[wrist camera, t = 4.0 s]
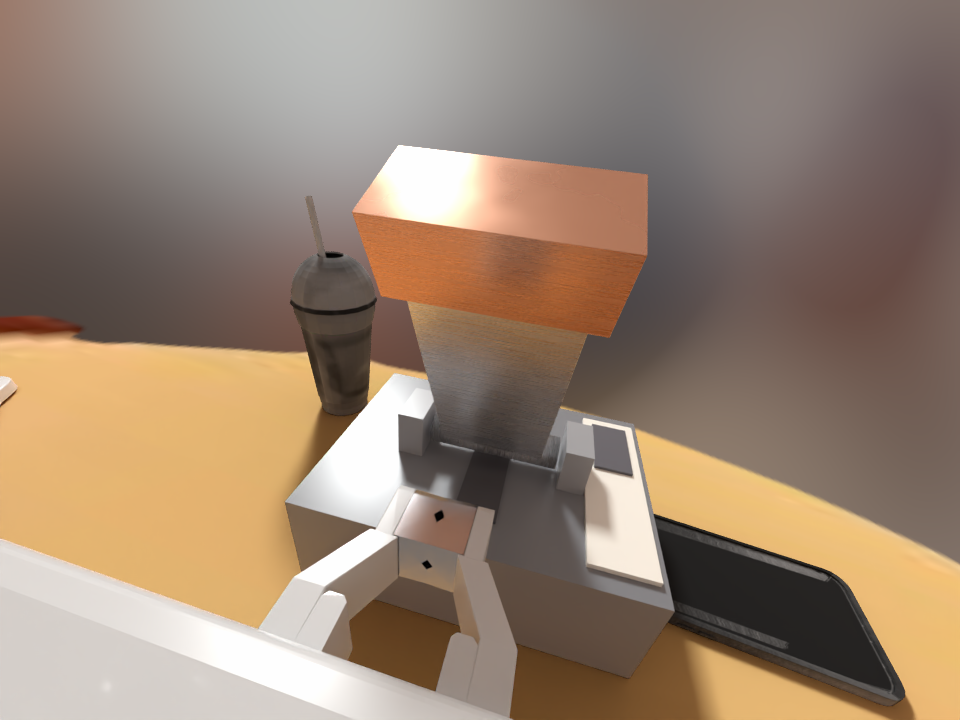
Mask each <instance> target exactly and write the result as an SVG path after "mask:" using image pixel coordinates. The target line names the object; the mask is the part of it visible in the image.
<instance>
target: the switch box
mask: <svg viewBox="0 0 960 720" xmlns="http://www.w3.org/2000/svg"><path fill="white" fill-rule="evenodd" d="M435 413H436V407H435V403H434V399H433V396H432V392H431V388H430V384H429V381H428V380H424V379H420V378H415V377H410V376H406V375H401V374H396V373H394V374H393V375H392V377H391V378H390V379H389V380H388V381H387V383H386V384H385V385H384V386H383V387H382V388H381V390H380V391H379V392H378V393H377V394H376V395H375V397H374V398H373V399H372V400H371V401H370V402H369V404H368V405H367V406H366V407H365V408H364V409H363V411H362V412H361V413H360V414H359V415H358V417H357V418H356V419H355V420H354V421H353V422H352V424H351V425H350V426H349V427H348V428H347V429H346V431H345V432H344V433H343V434H342V435H341V436H340V438H339V439H338V440H337V441H336V442H335V443H334V445H333V446H332V447H331V448H330V449H329V451H328V452H327V453H326V454H325V455H324V456H323V458H322V459H321V460H320V461H319V462H318V463H317V465H316V466H315V467H314V468H313V469H312V470H311V472H310V473H309V474H308V475H307V476H306V477H305V479H304V480H303V481H302V482H301V483H300V485H299V486H298V487H297V488H296V489H295V490H294V492H293V493H292V494H291V495H290V496H289V497H288V499H287V500H286V501H285V505H286V509H287V513H288V518H289V522H290V526H291V530H292V534H293V539H294V543H295V547H296V551H297V555H298V560H299V564H300V568H301V572H303V571H304V570H306V569H307V568H309V567H310V566H312V565H314V564H315V563H317V562H318V561H320V560H322V559H323V558H325V557H326V556H328V555H329V554H331V553H333V552H334V551H336V550H337V549H339V548H341V547H342V546H344V545H345V544H347V543H348V542H350V541H352V540H353V539H355V538H356V537H358V536H360V535H361V534H363V533H364V532H366V531H367V530H369V529H374V530H375V529H376V527H377V525H378V523H379V522H380V520H381V518H382V516H383V514H384V513H385V511H386V509H387V507H388V505H389V504H390V502H391V500H392V498H393V496H394V494H395V493H396V491H397V489H398V488H399V487H400V486H401V485H403V486H407V487H410V488H414V489H417V490H421V491H424V492H427V493H431V494H434V495H437V496H441V497H444V498H450V499H454V500H458V501H462V502H466V503H470V504H474V505H478V507H479V506H480V507H484V508H488V509H491V510H495V514H494V520H493V525H492V530H491V535H490V540H489V545H488V550H487V555H486V559H485V562H486V563H488V565H489V568H490V570H491V573H492V576H493V579H494V582H495V585H496V588H497V591H498V594H499V597H500V600H501V603H502V606H503V609H504V612H505V615H506V618H507V620H508V623H509V626H510V629H511V632H512V635H513V638H514V641H515V643H516V644H519V645H523V646H526V647H529V648H532V649H535V650H539V651H542V652H545V653H548V654H551V655H555V656H558V657H561V658H564V659H567V660H571V661H574V662H577V663H580V664H584V665H587V666H590V667H593V668H596V669H600V670H603V671H606V672H609V673H612V674H616V675H619V676H622V677H625V678H628V679H629V678H630V677H631V675H632V674H633V672H634V671H635V670H636V668H637V667H638V665H639V664H640V662H641V661H642V659H643V658H644V656H645V655H646V653H647V652H648V650H649V649H650V647H651V646H652V644H653V643H654V641H655V640H656V638H657V637H658V636H659V634H660V633H661V631H662V630H663V628H664V627H665V625H666V624H667V622H668V621H669V619H670V618H671V616H672V615H673V613H674V612H675V610H674V605H673V601H672V596H671V592H670V587H669V583H668V578H667V574H666V569H665V564H664V560H663V555H662V551H661V546H660V542H659V537H658V533H657V528H656V523H655V519H654V514H653V510H652V505H651V501H650V496H649V492H648V487H647V482H646V478H645V473H644V469H643V464H642V460H641V455H640V451H639V446H638V441H637V437H636V432H635V428H634V424H630V423H626V422H621V421H616V420H612V419H607V418H602V417H598V416H593V415H588V414H584V413H579V412H574V411H569V410H565V409H559V411H558V414H557V417H556V419H555V422H554V425H553V427H552V430H551V433H550V435H553V436H558V437H560V448H559V454H558V459H557V463H556V467H555V469H551V468H547V467H543V466H539V465H534V464H530V463H526V462H522V461H518V460H513V459H509V458H505V457H501V456H497V455H492V454H488V453H484V452H480V451H476V450H471V449H467V448H463V447H459V446H455V445H450V444H446V443H442V442H438V441H434V440H430V428H431V424H432V420H433V417H434V415H435ZM374 599H375V600H378V601H381V602H385V603H388V604H391V605H394V606H398V607H401V608H404V609H407V610H410V611H414V612H417V613H420V614H423V615H426V616H430V617H433V618H436V619H439V620H442V621H446V622H449V623H452V624H455V625H458V626H460V625H459V621H458V616H457V611H456V606H455V601H454V596H453V592H450V591H447V590H444V589H441V588H438V587H435V586H432V585H429V584H426V583H423V582H419V581H416V580H412V579H408V578H405V577H401V576H398V578H397V579H396V580H395V581H394V582H392V583H391V584H390V585H389V586H388V587H387V588H386V589H385V590H383V591H382V592H381V593H380V594H379V595H378V596H377V597H375V598H374Z"/></svg>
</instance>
